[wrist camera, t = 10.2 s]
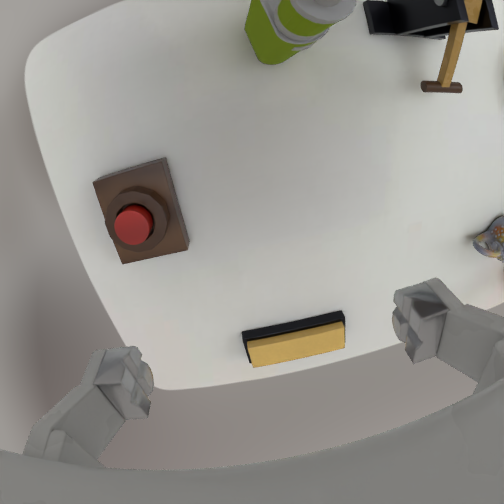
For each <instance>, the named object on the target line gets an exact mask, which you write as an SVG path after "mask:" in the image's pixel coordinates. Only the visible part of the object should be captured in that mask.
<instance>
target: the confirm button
mask: <svg viewBox="0 0 504 504" xmlns="http://www.w3.org/2000/svg"><path fill="white" fill-rule="evenodd" d="M114 226H115V232H116V234H117V236H118V237H119V239H120V240H122V241H123V242H125V243H127V244H130V245H137V244H140V243H142V242H144V241H145V240H146V238H147V237H148V235H149V233H150V231H151V229H152V226H153V220H152V217H151V215H150V213H149V212H148V211H147V210H146V209H145V208H144V207H142V206H139V205H130V206H127V207H126V208H124V209H123V210H122V212H121V213H120V214H119V215H118V216H117V218H116V220H115V225H114Z"/></svg>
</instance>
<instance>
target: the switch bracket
mask: <svg viewBox="0 0 504 504" xmlns="http://www.w3.org/2000/svg"><path fill="white" fill-rule="evenodd" d="M363 5H364V9H365V13H366V17H367V22H368V26H369V31H370V34H380V35H400V36H413V37H424V38H433V39H446V38H445V36H446V35H449V32H450V28H451V25H452V24H457V23H463V22H467V26H466V30H465V33H468V32H477V31H487V30H498V29H499V28H498V24H497V19H496V15H495V11H494V7H493V3H492V0H482V4H481V9H480V13H479V17H478V21H477V24H474V23H470V22H469V19H468V14H467V10H466V6H465V3H464V0H387V2H384V1H371V0H367V1H365V2H363Z"/></svg>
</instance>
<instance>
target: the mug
mask: <svg viewBox="0 0 504 504" xmlns="http://www.w3.org/2000/svg"><path fill="white" fill-rule="evenodd" d="M479 242H486V243H487V245H488V247H489V249H490V251H489V250H487V249H485V248H483V247H482V246H481V245H479ZM473 246H474V248H475V249H476V250H477V251H478V252H479V253H481V254H483V255H485V256H488V257H492V258H497V259H498V260H500V261H502V262H504V216H501V217H499V218H497V219H496V220H495V221H494V222H493V223H492V224H491V226H490V227H489V229H488V230H487V231H486V232H484V233H482V234H480V235H478V236H476V237H475V238H474V240H473Z"/></svg>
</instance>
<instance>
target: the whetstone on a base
mask: <svg viewBox="0 0 504 504" xmlns="http://www.w3.org/2000/svg"><path fill="white" fill-rule="evenodd" d="M242 339H243V343H244V346H245V349H246V353H247V356H248V359H249V363H252V365H253V368H255V367H260V366H266V365H271V364H276V363H281V362H286V361H291V360H295V359H300V358H305V357H309V356H313V355H318V354H322V353H326V352H330V351H334V350H338V349H342V348H345V316H344V314H343V312H342V311H337V312H333V313H329V314H324V315H320V316H316V317H311V318H307V319H302V320H298V321H293V322H289V323H284V324H279V325H274V326H269V327H264V328H259V329H254V330H249V331H243V332H242Z"/></svg>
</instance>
